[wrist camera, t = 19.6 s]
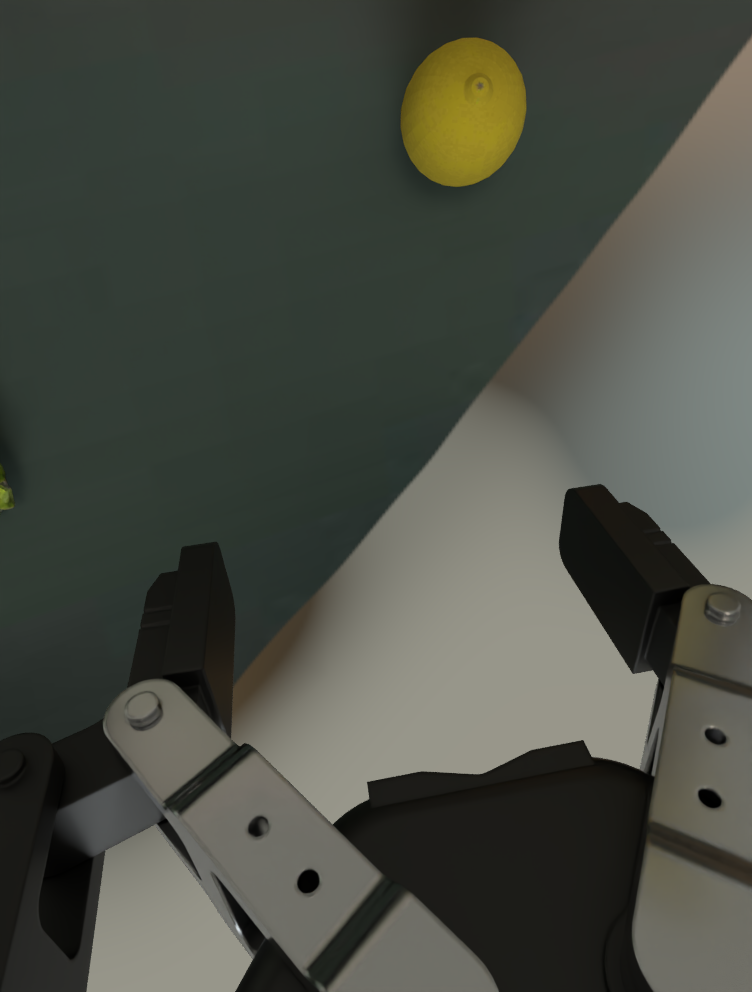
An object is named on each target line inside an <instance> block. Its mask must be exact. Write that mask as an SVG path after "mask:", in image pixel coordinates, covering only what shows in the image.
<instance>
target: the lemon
mask: <svg viewBox="0 0 752 992" xmlns="http://www.w3.org/2000/svg"><path fill="white" fill-rule="evenodd" d="M525 114H526V90H525V86H524V82H523V78H522V75H521V73H520V71H519V69H518V67H517V65H516V63H515V61H514V60H513V59H512V58H511V57H510V56H509V54H508V53H507V52H506V51H505V50H504V49H502V48H501V47H499V46H498V45H496V44H495V43H493V42H491V41H488V40H484V39H480V38H461V39H458V40H455V41H452V42H449V43H446V44H444V45H443V46H441V47H440V48H438V49H437V50H435V51H434V52H432V53H431V54H430V55H429V56H428V57H427V58H426V59H425V60H424V61H423V63H422V64H421V65H420V66H419V67H418V68H417V70H416V71H415V73H414V75H413V77H412V79H411V81H410V82H409V84H408V86H407V89H406V92H405V96H404V99H403V103H402V107H401V132H402V137H403V142H404V146H405V148H406V150H407V153H408V155H409V157H410V159H411V161H412V162H413V163H414V165H415V166H416V167H417V169H418V170H419V171H420V172H421V173H422V174H424V175H425V176H426V177H428V178H429V179H430V180H432V181H434V182H437V183H439V184H442V185H445V186H455V187H460V186H466V185H472V184H475V183H477V182H479V181H481V180H483V179H485V178H488V177H489V176H490V175H492V174H493V173H494V172H495V171H496V170H497V169H499V168H500V167H501V166H502V165H503V164H504V163H505V161H506V160H507V158H508V157H509V156H510V154H511V153H512V152H513V150H514V148H515V146H516V144H517V142H518V139H519V137H520V135H521V133H522V130H523V125H524V119H525Z"/></svg>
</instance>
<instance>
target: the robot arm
mask: <svg viewBox="0 0 752 992" xmlns="http://www.w3.org/2000/svg"><path fill="white" fill-rule="evenodd" d="M559 550H560V555H561V559H562V562H563V564H564V566H565V568H566V569H567V571H568V573H569V574H570V575H571V577H572V579H573V580H574V582H575V584H576V585H577V587H578V588H579V590H580V591H581V593H582V594H583V596H584V598H585V599H586V601H587V602H588V604H589V606H590V607H591V609H592V610H593V612H594V613H595V615H596V616H597V618H598V620H599V621H600V623H601V624H602V626H603V628H604V629H605V631H606V632H607V634H608V635H609V637H610V639H611V640H612V642H613V643H614V645H615V646H616V648H617V650H618V651H619V653H620V654H621V656H622V657H623V659H624V660H625V662H626V664H627V665H628V667H629V668H630V670H631V672H632V673H633V674H635V673H641V672H646V671H651V670H653V671H654V672H655V674H656V675H657V677H658V678H659V679H658V682H657V685H656V689H655V694H654V699H653V705H652V710H651V715H650V720H649V725H648V731H647V736H646V741H645V746H644V751H643V757H642V761H641V765H640V769H637V768H634V767H632V766H629V765H627V764H624V763H620V762H617V761H613V760H608V759H603V758H595V757H591V755H590V753H589V751H588V749H587V747H586V745H585V743H584V741H583V740H581V741H576V742H571V743H566V744H561V745H556V746H550V747H545V748H540V749H535V750H531V751H529V752H527V753H525V754H523V755H521V756H519V757H517V758H515V759H513V760H511V761H509V762H507V763H505V764H503V765H500V766H498V767H496V768H494V769H492V770H490V771H488V772H486V773H483V774H457V773H440V772H416V773H411V774H406V775H401V776H396V777H391V778H385V779H380V780H375V781H370V782H367V784H368V792H369V800H367V801H365V802H363V803H361V804H359V805H357V806H356V807H354V808H353V809H351V810H350V811H348V812H347V813H345V814H344V815H343V816H342V817H341V818H339V819H338V820H337V821H336V822H335V823H334V824H333V825H332V824H331V823H330V822H329V821H328V820H327V819H326V818H325V817H324V816H323V815H322V814H321V813H320V812H319V811H318V810H317V809H316V808H315V807H314V806H313V805H312V804H311V803H310V802H309V801H308V800H307V799H306V798H305V797H304V796H303V795H302V794H301V793H300V792H299V791H298V790H297V789H296V788H295V787H294V786H293V785H292V784H291V783H290V782H289V781H288V780H286V779H285V778H284V777H283V776H282V775H281V774H280V773H279V772H278V771H277V770H276V769H275V768H274V767H273V766H272V765H271V764H270V763H269V762H268V761H267V760H266V759H265V758H264V757H263V756H262V755H261V754H260V753H259V752H258V751H257V750H256V749H255V748H253V747H252V746H251V745H249V744H245V743H244V744H243V745H242V746H238V745H237V744H236V743H234V742H233V741H232V740H231V725H232V699H233V697H232V696H233V671H234V644H235V607H234V600H233V594H232V590H231V587H230V583H229V579H228V576H227V572H226V569H225V565H224V561H223V558H222V554H221V550H220V547H219V545H218V543H217V542H211V543H204V544H198V545H191V546H185V547H182V549H181V555H180V561H179V567H178V571H174V572H167V573H161V574H160V575H159V577H158V578H157V579H156V581H155V582H154V583H153V585H152V586H151V587H150V589H149V590H148V592H147V596H146V601H145V606H144V614H143V615H142V620H141V625H140V626H141V629H140V630H139V635H138V639H137V644H136V649H135V654H134V658H133V663H132V668H131V673H130V677H129V682H128V686H127V689H125V690H124V691H123V692H121V693H120V694H119V695H118V696H117V697H116V698H115V699H114V700H113V701H112V702H111V704H110V705H109V707H108V708H107V710H106V713H105V715H104V718H103V719H102V720H100V721H99V722H97V723H96V724H94V725H92V726H90V727H88V728H86V729H84V730H82V731H79V732H77V733H75V734H73V735H71V736H68V737H66V738H64V739H62V740H59V741H57V742H55V743H53V744H51V742H50V741H49V739H47V738H46V737H45V736H43V735H41V734H37V733H22V734H17V735H13V736H10V737H8V738H6V739H3V740H1V741H0V992H86V990H87V982H88V974H89V967H90V960H91V953H92V945H93V938H94V930H95V922H96V915H97V908H98V900H99V893H100V886H101V878H102V871H103V863H104V856H105V850H107V849H109V848H111V847H113V846H115V845H117V844H119V843H120V842H122V841H124V840H126V839H128V838H130V837H132V836H134V835H136V834H137V833H140V832H141V831H143V830H145V829H147V828H149V827H151V826H153V825H155V826H156V828H157V829H158V830H159V831H160V833H161V834H162V835H163V837H164V838H165V839H166V840H167V842H168V843H169V845H170V846H171V847H172V849H173V850H174V851H175V853H176V854H177V855H178V856H179V858H180V859H181V860H182V862H183V863H184V864H185V866H186V867H187V868H188V870H189V871H190V872H191V873H192V875H193V876H194V877H195V879H196V880H197V881H198V882H199V884H200V885H201V887H202V888H203V889H204V891H205V892H206V894H207V895H208V896H209V898H210V900H211V901H212V903H213V904H214V906H215V907H216V909H217V911H218V912H219V914H220V915H221V917H222V918H223V920H224V921H225V923H226V924H227V925H228V927H229V928H230V930H231V931H232V932H233V934H234V935H235V936H236V938H237V939H238V940H239V942H240V943H241V944H242V946H243V947H244V948H245V950H246V951H247V952H248V954H249V955H250V956H251V958H252V959H253V961H252V962H251V964H250V966H249V968H248V970H247V971H246V973H245V975H244V977H243V979H242V981H241V982H240V984H239V986H238V988H237V990H236V991H235V992H752V600H751V599H750V598H749V597H747V596H746V595H744V594H742V593H741V592H739V591H737V590H734V589H732V588H728V587H725V586H721V585H714V584H710V583H709V582H708V581H707V579H706V578H705V577H704V576H703V575H702V574H701V573H700V572H699V570H698V569H697V568H696V567H695V566H694V565H693V564H692V563H691V562H690V560H689V559H688V558H687V557H686V556H685V555H684V554H683V553H682V552H681V551H680V549H679V548H678V547H677V546H676V545H675V544H674V543H671V539H670V538H669V537H668V536H667V535H666V534H665V533H664V532H663V531H661V530H660V527H659V526H658V525H657V524H656V523H655V522H654V521H653V520H652V519H651V517H649V515H648V514H647V513H645V512H644V511H642V510H640V509H638V508H637V507H635V506H633V505H631V504H630V503H628V502H623V503H618V501H617V500H616V499H615V498H614V496H613V495H612V494H611V493H610V492H609V491H608V489H607V488H606V487H605V486H603V485H601V484H598V485H591V486H585V487H578V488H572V489H568V490H567V492H566V494H565V499H564V507H563V515H562V523H561V531H560V537H559Z"/></svg>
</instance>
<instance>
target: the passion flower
mask: <svg viewBox="0 0 752 992" xmlns="http://www.w3.org/2000/svg"><path fill="white" fill-rule="evenodd" d="M14 506H15V502H14V498H13V494H12V489H11V487H10V486H9V485H8V483H7V481H6V478H5V471H4V470H3V467H2V465H1V464H0V513H1V512H2V510H9V509H12V508H13V507H14Z"/></svg>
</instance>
